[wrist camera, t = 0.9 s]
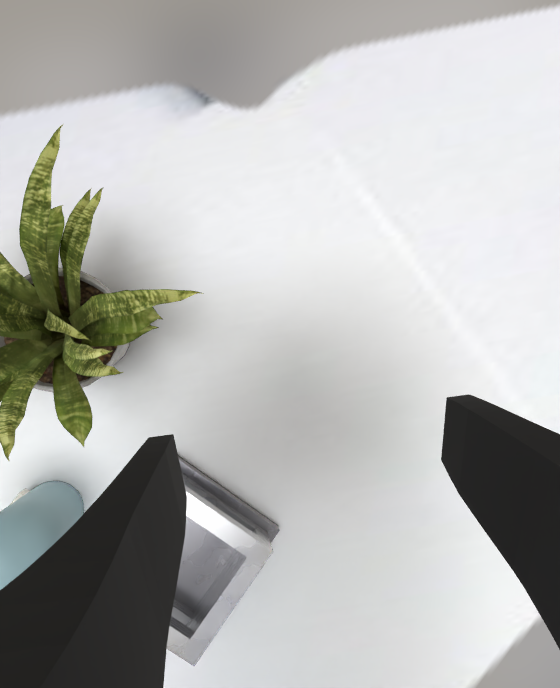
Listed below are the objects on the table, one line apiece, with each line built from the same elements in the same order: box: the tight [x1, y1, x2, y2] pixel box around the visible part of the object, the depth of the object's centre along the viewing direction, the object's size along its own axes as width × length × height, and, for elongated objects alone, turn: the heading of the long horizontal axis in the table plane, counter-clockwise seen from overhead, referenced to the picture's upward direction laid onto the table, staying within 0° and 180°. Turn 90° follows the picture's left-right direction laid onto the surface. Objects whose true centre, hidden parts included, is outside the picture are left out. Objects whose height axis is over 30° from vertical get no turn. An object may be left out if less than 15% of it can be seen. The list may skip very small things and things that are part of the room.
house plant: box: [0, 125, 204, 460], centre depth 22 cm, size 14×14×16 cm
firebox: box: [167, 456, 279, 666], centre depth 28 cm, size 10×10×4 cm
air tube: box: [0, 481, 84, 590], centre depth 24 cm, size 4×4×9 cm
